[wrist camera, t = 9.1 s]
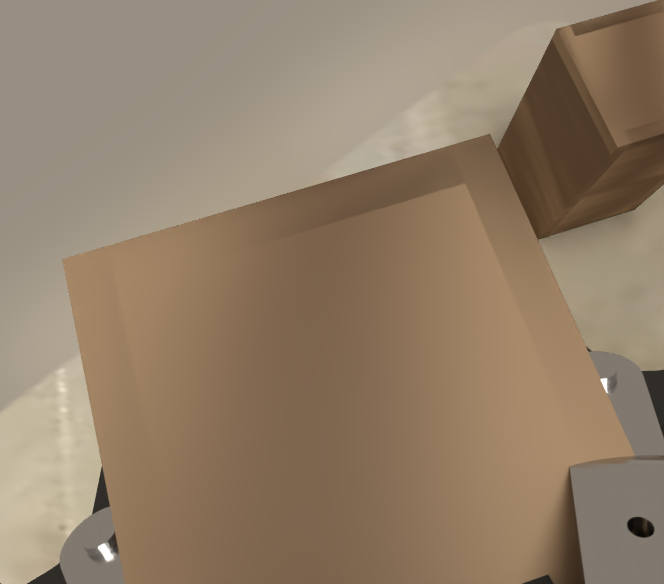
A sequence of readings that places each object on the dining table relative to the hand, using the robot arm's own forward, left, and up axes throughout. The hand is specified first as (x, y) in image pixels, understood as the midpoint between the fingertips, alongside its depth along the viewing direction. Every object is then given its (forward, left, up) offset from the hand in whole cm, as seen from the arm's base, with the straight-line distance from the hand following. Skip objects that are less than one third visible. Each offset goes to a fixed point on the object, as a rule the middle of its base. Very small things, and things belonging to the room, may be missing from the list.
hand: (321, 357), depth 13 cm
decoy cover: (-19, +1, -18) cm, 27 cm away
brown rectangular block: (+1, +1, -4) cm, 5 cm away
